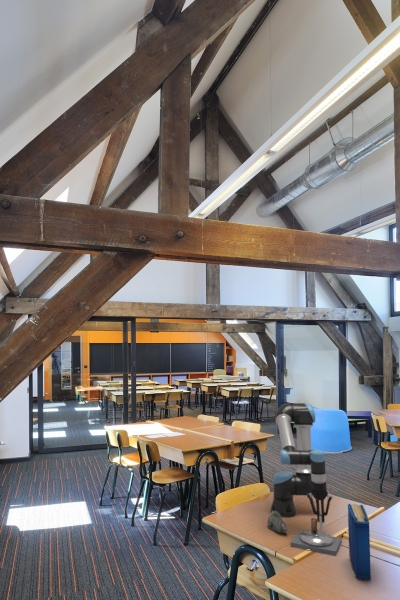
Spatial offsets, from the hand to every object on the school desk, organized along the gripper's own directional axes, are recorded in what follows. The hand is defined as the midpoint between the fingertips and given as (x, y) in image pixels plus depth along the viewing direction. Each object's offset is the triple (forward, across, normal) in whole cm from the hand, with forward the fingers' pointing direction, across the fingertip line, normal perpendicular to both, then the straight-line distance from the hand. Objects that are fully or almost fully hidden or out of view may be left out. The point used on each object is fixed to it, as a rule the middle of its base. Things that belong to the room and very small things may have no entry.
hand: (321, 528), depth 228 cm
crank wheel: (+4, +2, +6) cm, 7 cm away
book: (+6, -20, +25) cm, 32 cm away
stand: (+6, +2, +6) cm, 9 cm away
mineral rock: (+5, +24, -2) cm, 24 cm away
